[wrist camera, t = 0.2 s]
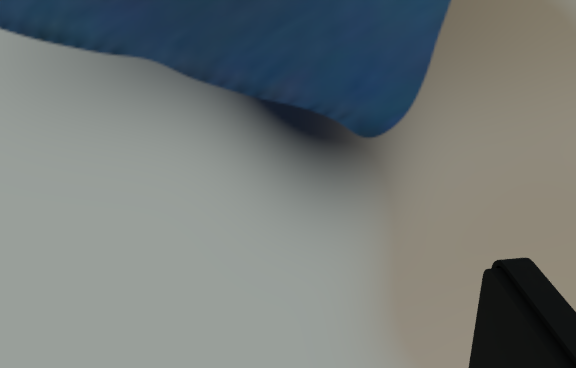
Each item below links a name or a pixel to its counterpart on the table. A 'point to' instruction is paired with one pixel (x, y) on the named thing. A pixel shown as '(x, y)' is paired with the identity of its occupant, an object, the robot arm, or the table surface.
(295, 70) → the table surface
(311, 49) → the table surface
